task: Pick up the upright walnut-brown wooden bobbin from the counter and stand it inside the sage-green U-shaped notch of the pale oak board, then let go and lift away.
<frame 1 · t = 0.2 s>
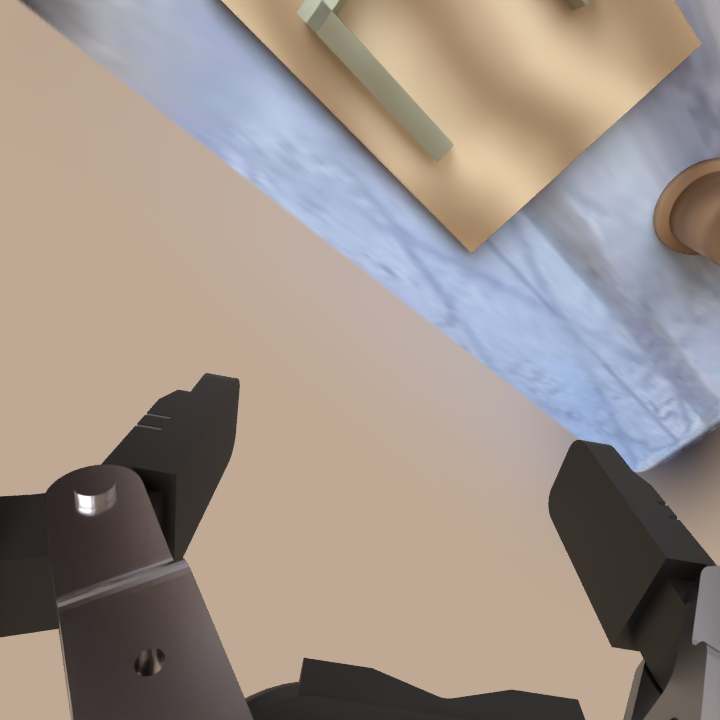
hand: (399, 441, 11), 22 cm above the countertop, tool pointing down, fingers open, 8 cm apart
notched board: (445, 11, 25), on the countertop
wooden bobbin: (702, 206, 29), on the countertop
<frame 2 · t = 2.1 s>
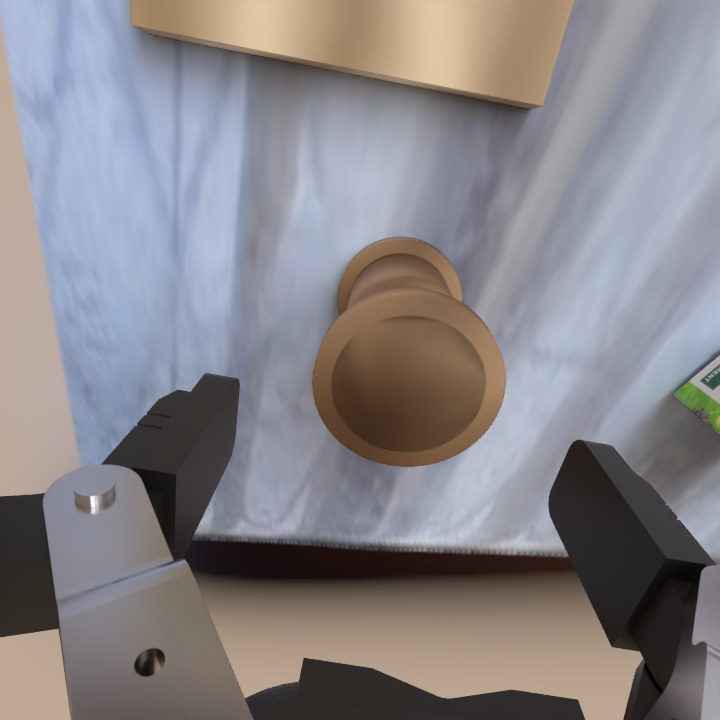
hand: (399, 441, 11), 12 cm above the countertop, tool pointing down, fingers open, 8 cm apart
wooden bobbin: (398, 298, 22), on the countertop
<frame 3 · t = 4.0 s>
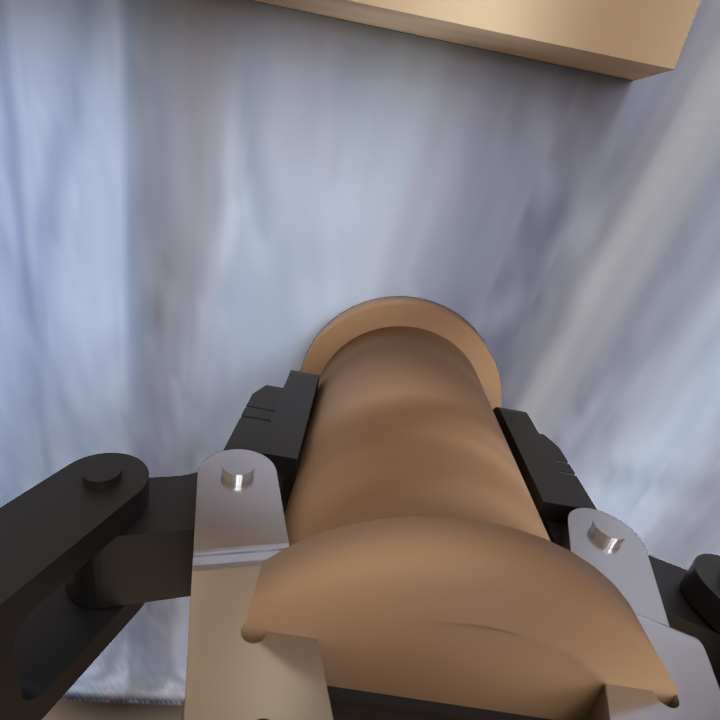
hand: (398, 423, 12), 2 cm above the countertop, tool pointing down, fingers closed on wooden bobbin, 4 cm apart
wooden bobbin: (396, 389, 14), on the countertop, touching gripper
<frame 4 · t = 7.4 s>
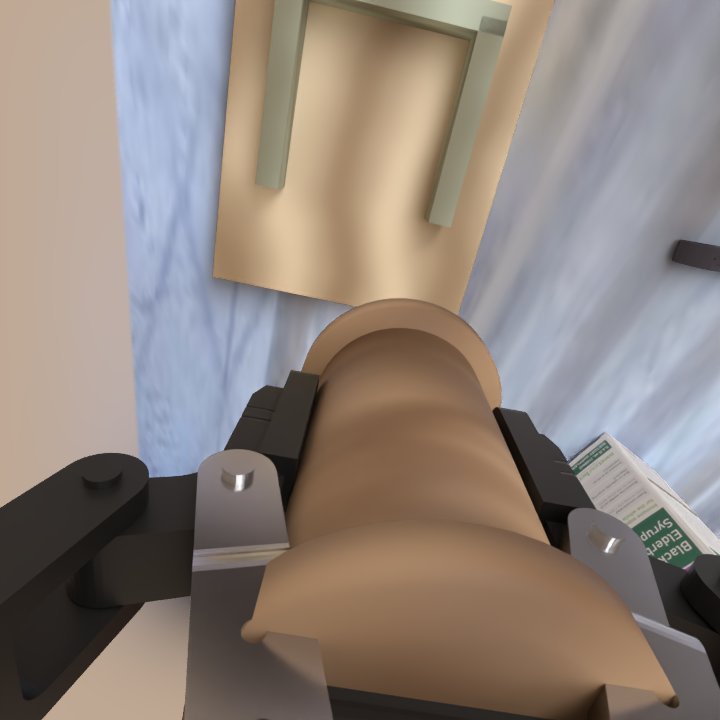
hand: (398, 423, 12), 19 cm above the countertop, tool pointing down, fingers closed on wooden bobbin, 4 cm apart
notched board: (372, 114, 26), on the countertop
wooden bobbin: (396, 391, 14), point 17 cm above the countertop, touching gripper
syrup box: (600, 473, 35), on the countertop
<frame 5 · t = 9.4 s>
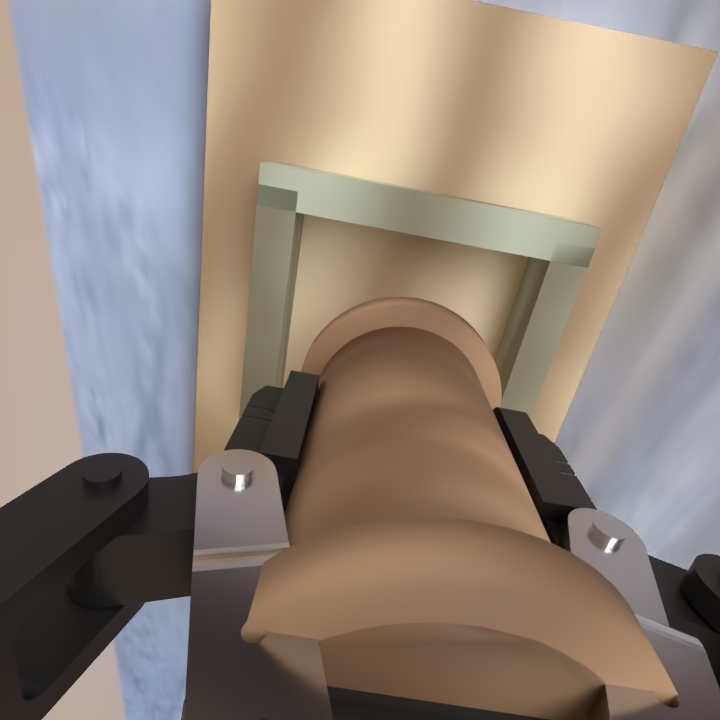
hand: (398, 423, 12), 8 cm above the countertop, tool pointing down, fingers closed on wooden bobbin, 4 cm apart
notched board: (394, 320, 19), on the countertop
wooden bobbin: (396, 390, 14), point 6 cm above the countertop, touching gripper
when the fingers open (5 cm above the countertop, at t = 10.8 s): wooden bobbin drops 1 cm, resting on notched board.
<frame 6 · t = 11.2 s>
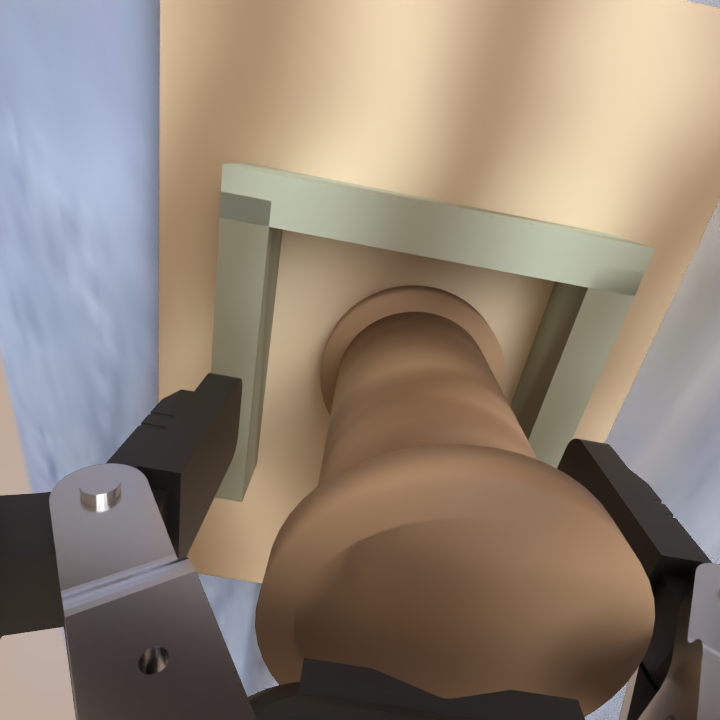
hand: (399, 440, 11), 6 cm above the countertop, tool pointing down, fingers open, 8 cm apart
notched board: (392, 350, 16), on the countertop
wooden bobbin: (410, 371, 15), point 1 cm above the countertop, touching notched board
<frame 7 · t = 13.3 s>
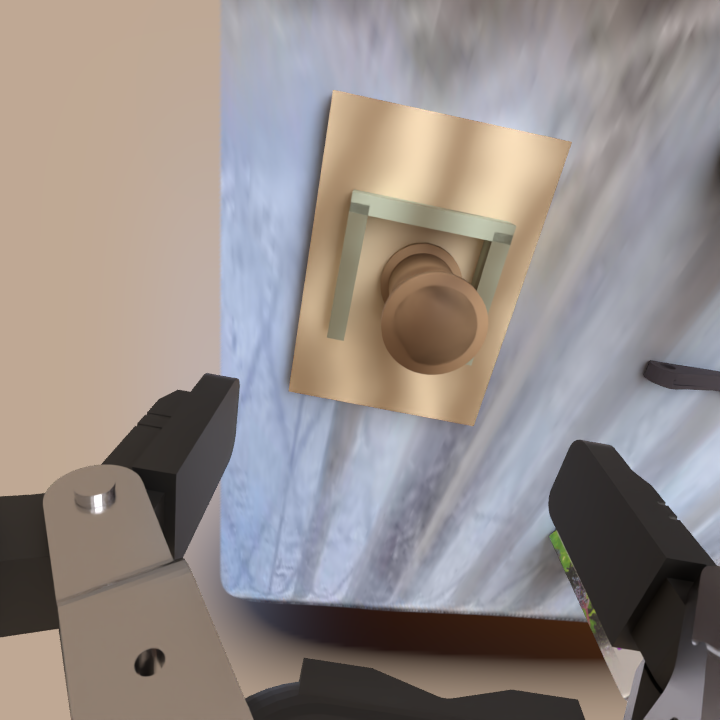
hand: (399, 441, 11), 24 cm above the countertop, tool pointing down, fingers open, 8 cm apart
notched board: (411, 276, 34), on the countertop
wooden bobbin: (420, 283, 33), point 2 cm above the countertop, touching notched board
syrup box: (591, 529, 43), on the countertop
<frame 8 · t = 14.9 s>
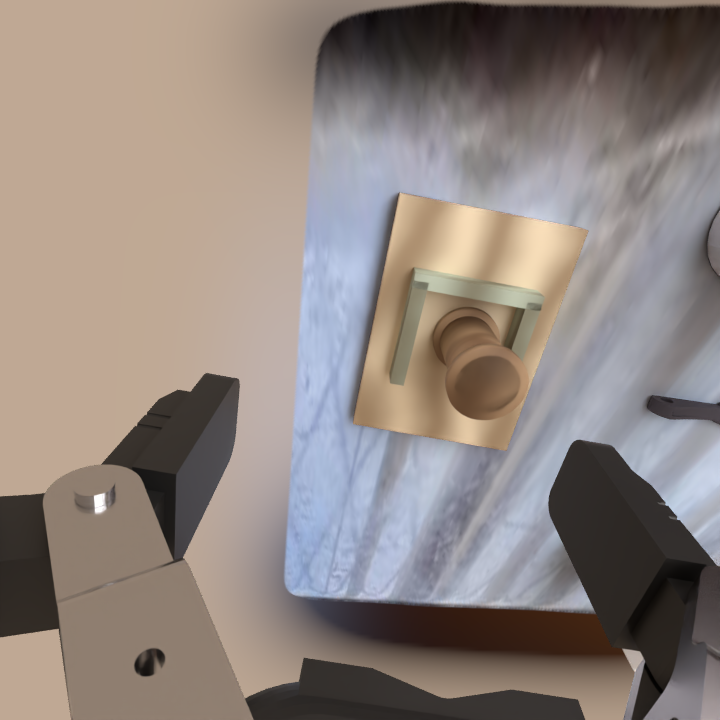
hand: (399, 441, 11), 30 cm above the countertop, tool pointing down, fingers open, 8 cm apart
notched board: (456, 330, 42), on the countertop
wooden bobbin: (465, 337, 40), point 2 cm above the countertop, touching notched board
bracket: (719, 406, 45), on the countertop
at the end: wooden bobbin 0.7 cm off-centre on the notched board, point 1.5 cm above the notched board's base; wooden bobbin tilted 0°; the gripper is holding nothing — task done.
